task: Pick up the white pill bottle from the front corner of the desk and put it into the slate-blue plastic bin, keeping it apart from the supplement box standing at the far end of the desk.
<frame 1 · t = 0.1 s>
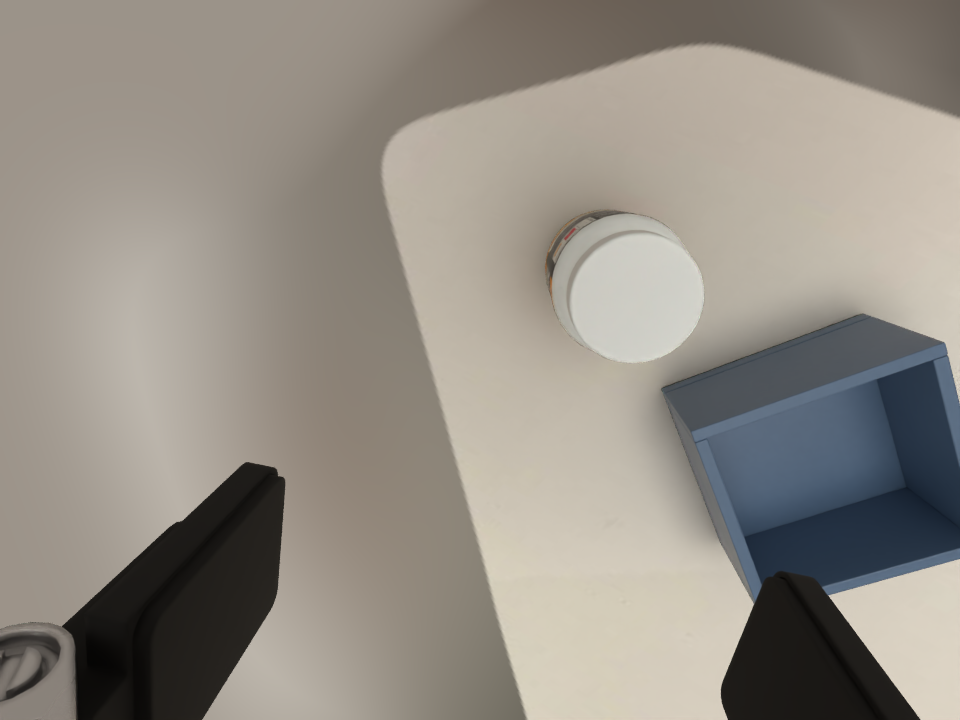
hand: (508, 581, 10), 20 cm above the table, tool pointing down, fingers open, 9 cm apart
pill bottle: (599, 265, 28), on the table
bin: (786, 436, 30), on the table
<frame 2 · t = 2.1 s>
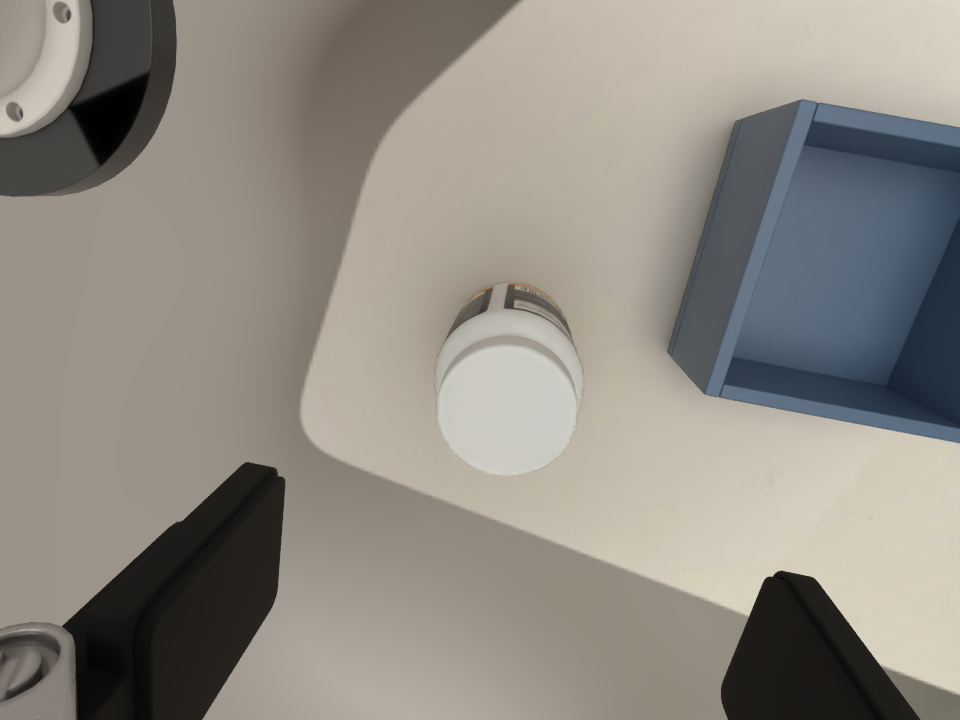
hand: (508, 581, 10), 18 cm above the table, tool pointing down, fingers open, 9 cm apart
pill bottle: (511, 335, 27), on the table
bin: (813, 265, 25), on the table
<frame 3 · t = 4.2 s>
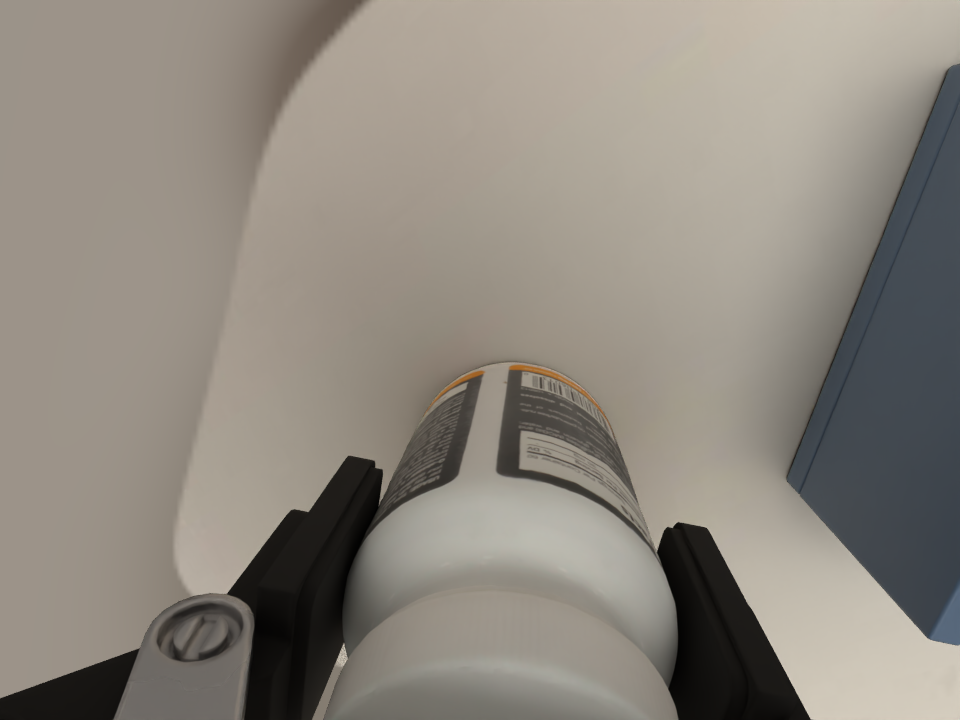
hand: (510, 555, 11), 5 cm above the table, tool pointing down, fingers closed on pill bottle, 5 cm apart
pill bottle: (515, 444, 16), on the table, touching gripper
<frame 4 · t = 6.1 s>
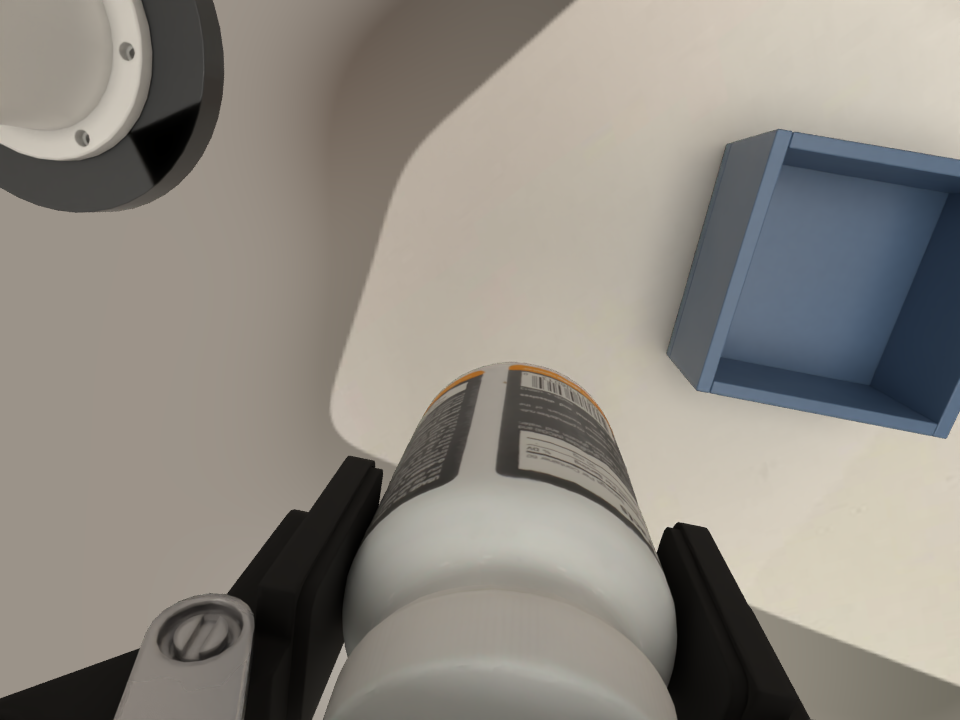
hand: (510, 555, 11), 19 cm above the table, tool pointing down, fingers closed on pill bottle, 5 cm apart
pill bottle: (515, 444, 16), point 14 cm above the table, touching gripper
bin: (800, 274, 27), on the table
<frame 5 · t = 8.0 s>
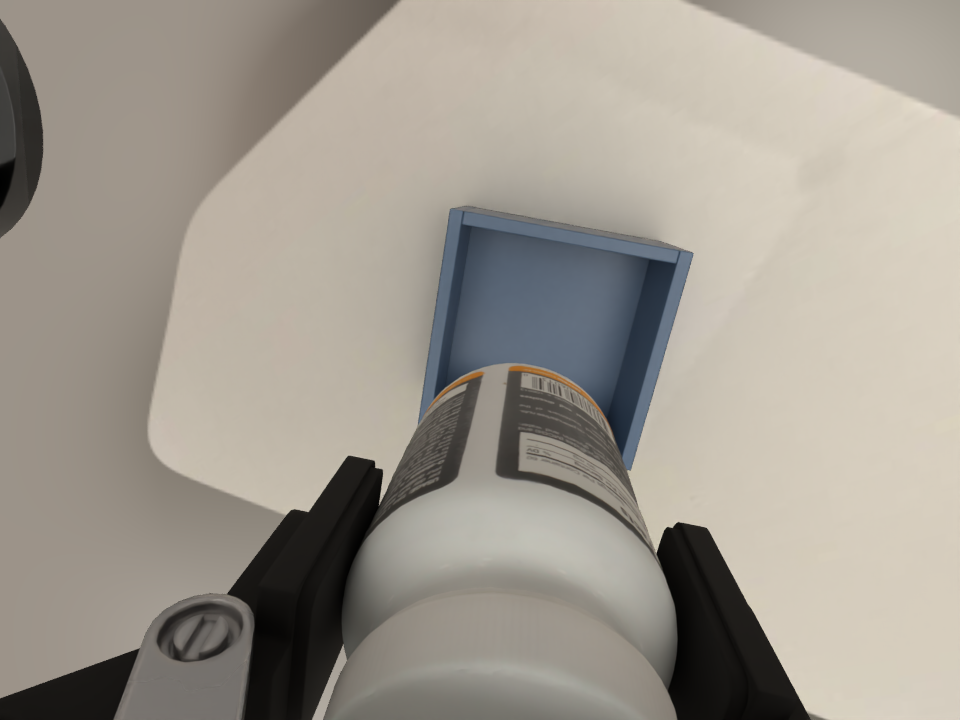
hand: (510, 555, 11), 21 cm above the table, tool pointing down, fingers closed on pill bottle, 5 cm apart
pill bottle: (515, 445, 16), point 15 cm above the table, touching gripper
bin: (542, 319, 30), on the table
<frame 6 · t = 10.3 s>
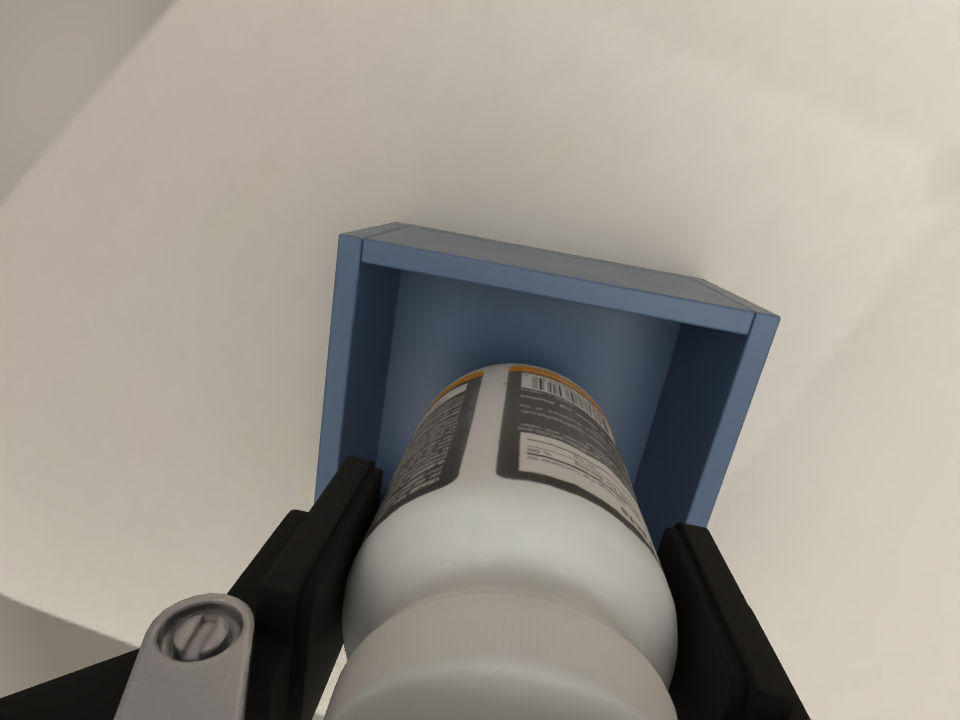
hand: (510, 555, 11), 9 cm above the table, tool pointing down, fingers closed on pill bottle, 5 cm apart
pill bottle: (515, 445, 16), point 4 cm above the table, touching gripper
bin: (518, 394, 20), on the table
when the fingers open (6 cm above the table, at t = 11.9 s): pill bottle stays where it is, resting on bin.
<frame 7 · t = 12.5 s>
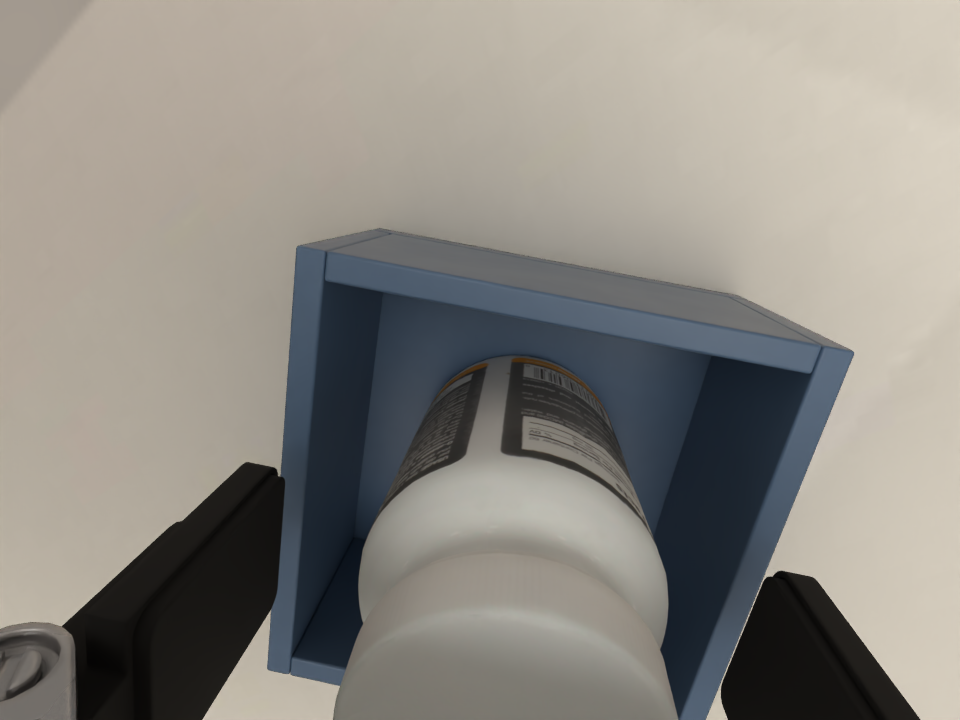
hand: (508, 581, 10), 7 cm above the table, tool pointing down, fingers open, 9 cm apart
pill bottle: (517, 434, 17), point 1 cm above the table, touching bin
bin: (521, 427, 17), on the table
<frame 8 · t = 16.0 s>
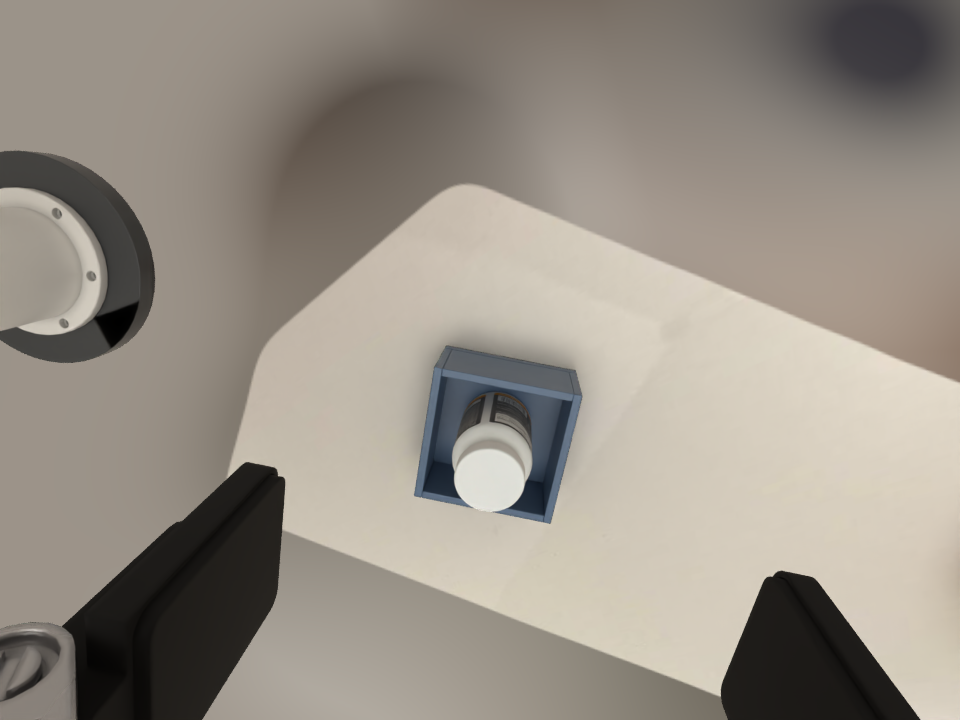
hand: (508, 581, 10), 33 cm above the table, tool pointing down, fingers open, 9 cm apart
pill bottle: (497, 420, 45), point 1 cm above the table, touching bin
bin: (498, 417, 45), on the table
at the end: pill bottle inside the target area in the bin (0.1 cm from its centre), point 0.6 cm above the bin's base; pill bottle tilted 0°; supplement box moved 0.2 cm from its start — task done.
